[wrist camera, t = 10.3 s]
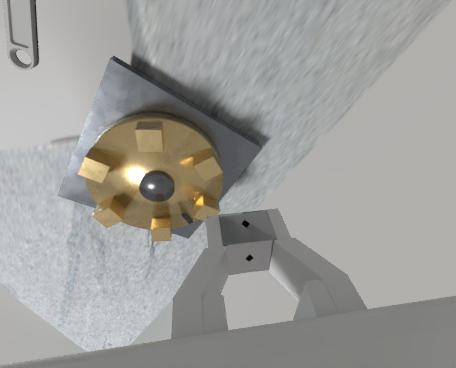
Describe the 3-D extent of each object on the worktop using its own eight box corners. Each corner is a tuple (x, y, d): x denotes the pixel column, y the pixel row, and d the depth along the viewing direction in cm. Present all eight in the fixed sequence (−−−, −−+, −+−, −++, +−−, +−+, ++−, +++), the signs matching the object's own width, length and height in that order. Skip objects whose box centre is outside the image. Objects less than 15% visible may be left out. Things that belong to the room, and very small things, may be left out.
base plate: (113, 55, 31) (109, 59, 29) (258, 142, 42) (262, 148, 40) (62, 188, 42) (57, 196, 40) (188, 231, 52) (188, 239, 50)
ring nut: (58, 153, 36) (41, 175, 31) (179, 86, 32) (178, 100, 28) (145, 232, 47) (141, 256, 43) (240, 189, 44) (246, 210, 40)
